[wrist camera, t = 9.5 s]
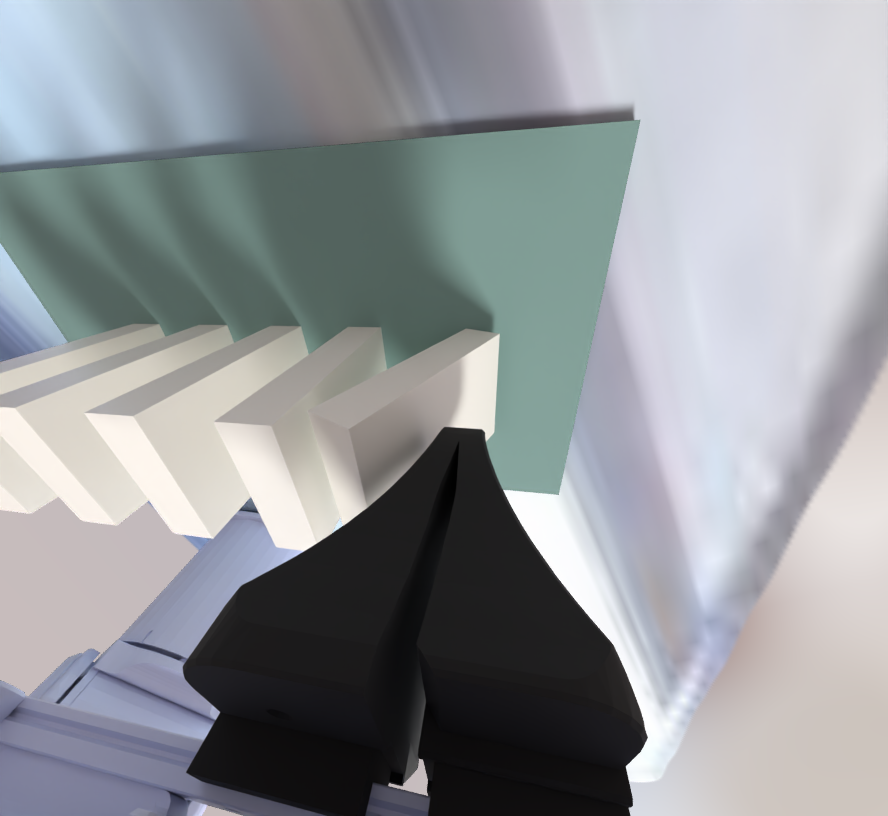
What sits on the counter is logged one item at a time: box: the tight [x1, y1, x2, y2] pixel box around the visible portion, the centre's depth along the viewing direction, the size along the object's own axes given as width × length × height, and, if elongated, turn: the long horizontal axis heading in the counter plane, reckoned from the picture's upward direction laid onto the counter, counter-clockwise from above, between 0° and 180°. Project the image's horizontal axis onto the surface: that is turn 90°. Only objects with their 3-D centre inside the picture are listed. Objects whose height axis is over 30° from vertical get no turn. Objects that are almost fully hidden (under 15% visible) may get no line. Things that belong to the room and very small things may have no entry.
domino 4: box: [308, 329, 500, 526], centre depth 12 cm, size 5×2×8 cm, turn 2°
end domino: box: [0, 324, 165, 514], centre depth 14 cm, size 5×2×8 cm, turn 2°
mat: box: [0, 120, 640, 495], centre depth 16 cm, size 16×28×1 cm, turn 92°
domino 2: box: [84, 326, 309, 539], centre depth 13 cm, size 5×2×8 cm, turn 2°
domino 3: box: [214, 327, 387, 551], centre depth 12 cm, size 5×2×8 cm, turn 2°
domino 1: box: [0, 325, 234, 526], centre depth 14 cm, size 5×2×8 cm, turn 2°
